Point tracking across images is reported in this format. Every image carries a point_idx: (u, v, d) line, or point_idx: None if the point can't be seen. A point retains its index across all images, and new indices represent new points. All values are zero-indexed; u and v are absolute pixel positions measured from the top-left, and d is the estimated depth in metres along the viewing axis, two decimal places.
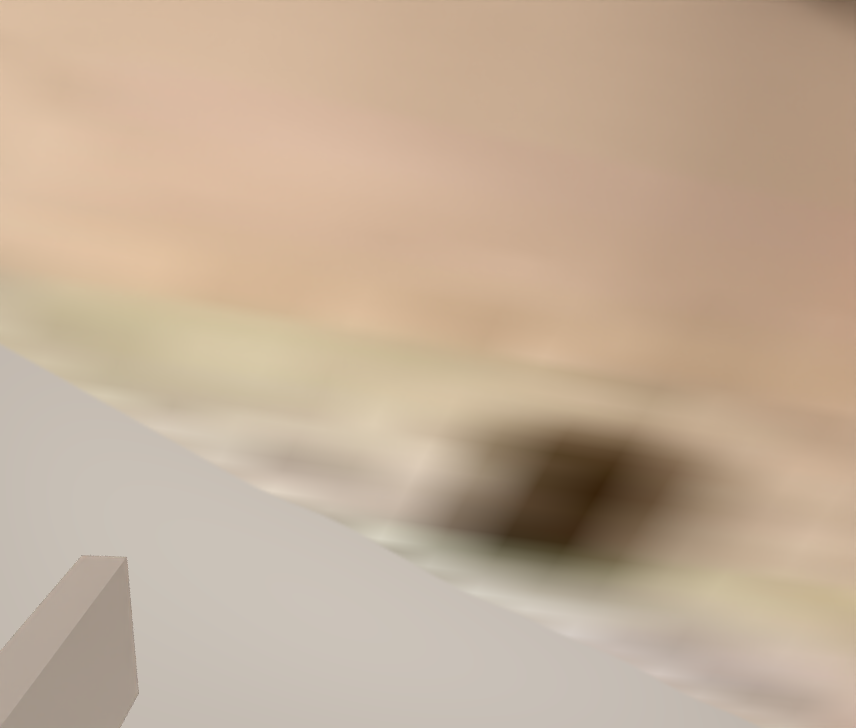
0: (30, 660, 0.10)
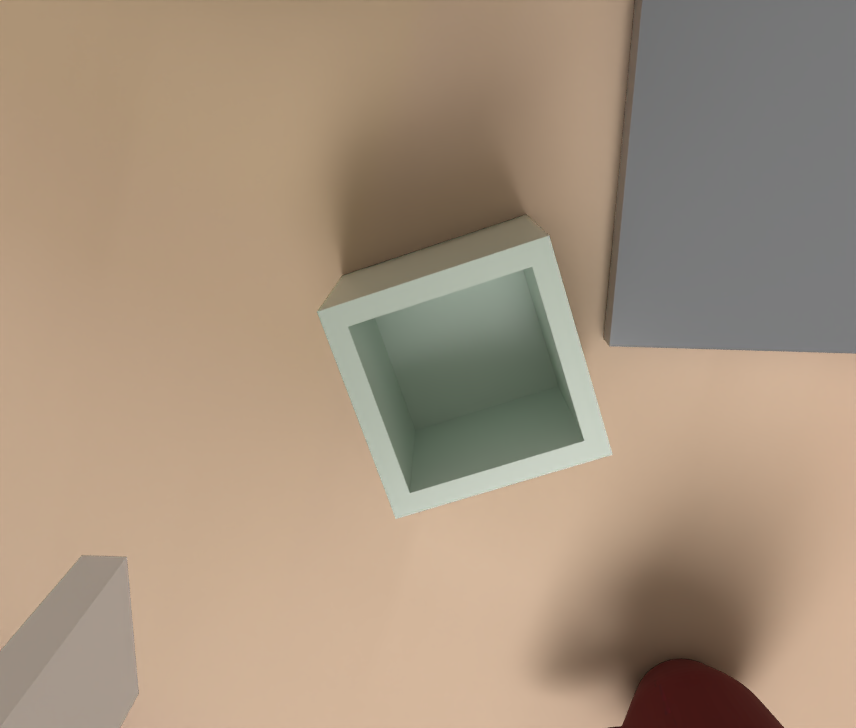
0: (30, 660, 0.10)
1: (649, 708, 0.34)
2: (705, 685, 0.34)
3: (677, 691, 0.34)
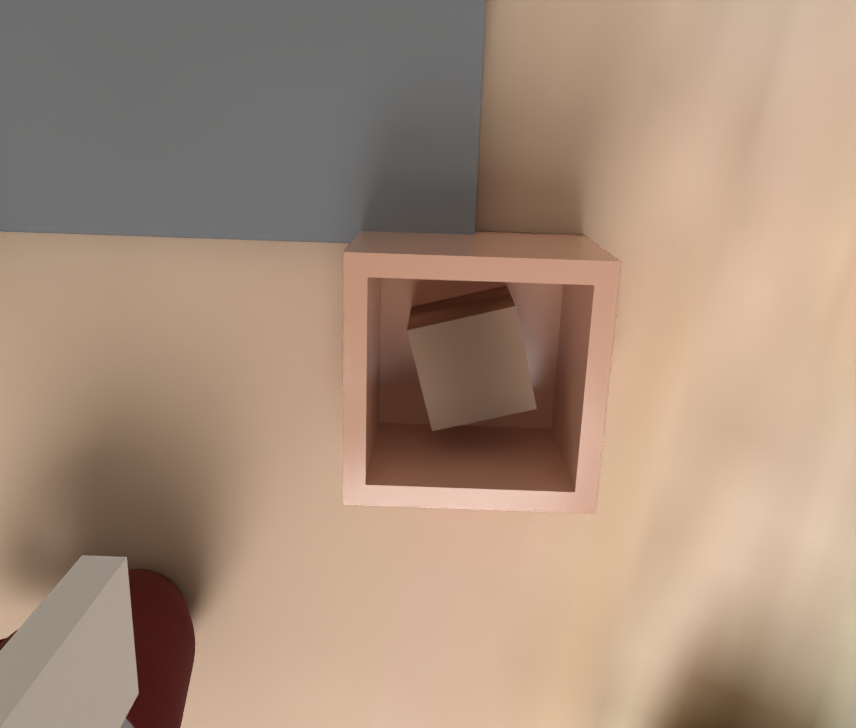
0: (30, 660, 0.10)
1: None
2: None
3: None
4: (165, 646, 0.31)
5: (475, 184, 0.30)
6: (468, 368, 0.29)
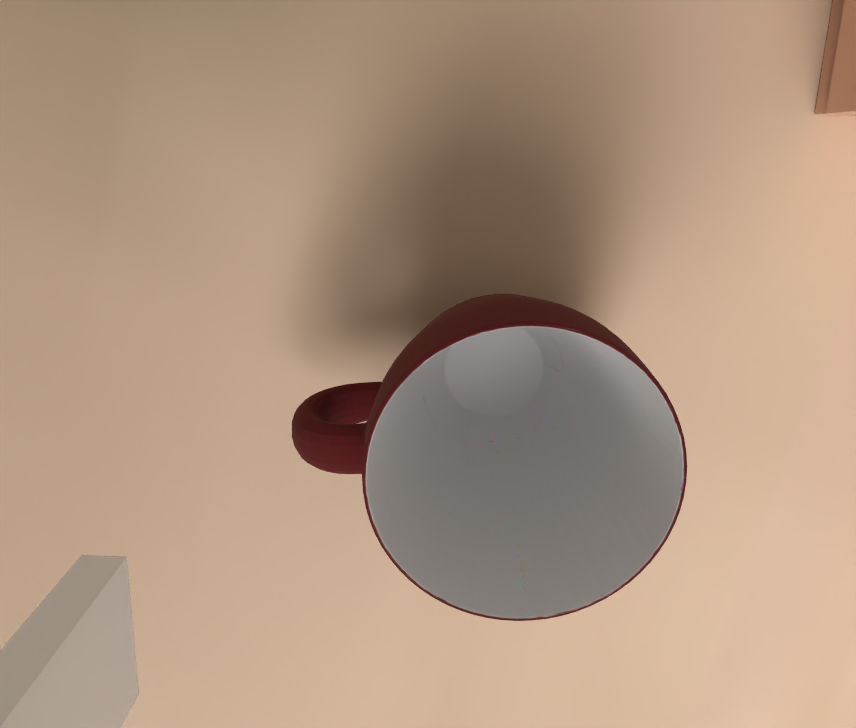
0: (30, 660, 0.10)
1: None
2: None
3: (461, 303, 0.24)
4: None
5: None
6: None
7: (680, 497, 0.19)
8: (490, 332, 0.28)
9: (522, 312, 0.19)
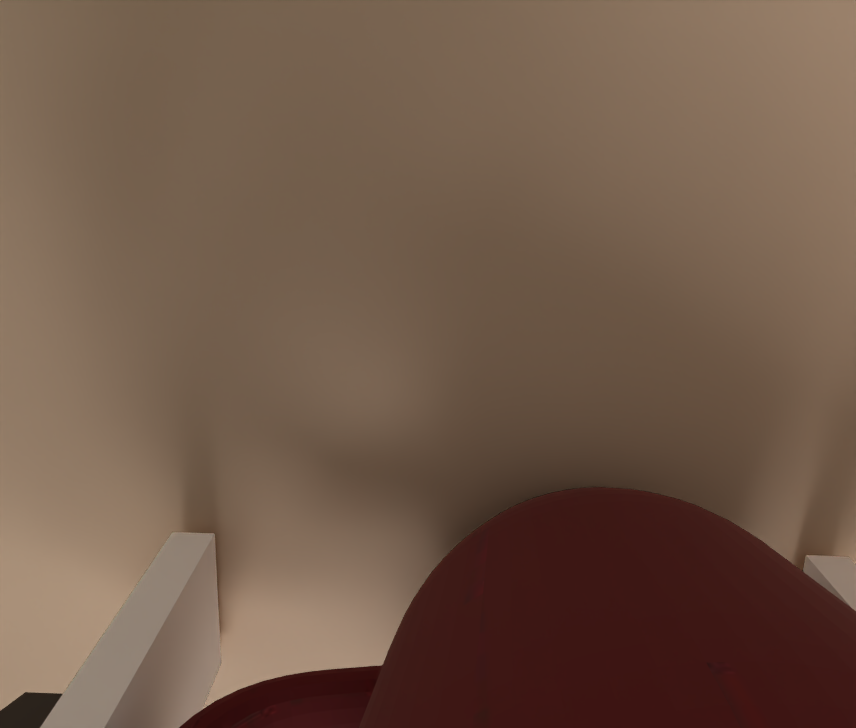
0: (145, 623, 0.11)
1: (434, 595, 0.10)
2: (621, 515, 0.10)
3: (526, 535, 0.10)
4: None
5: None
6: None
7: None
8: None
9: None
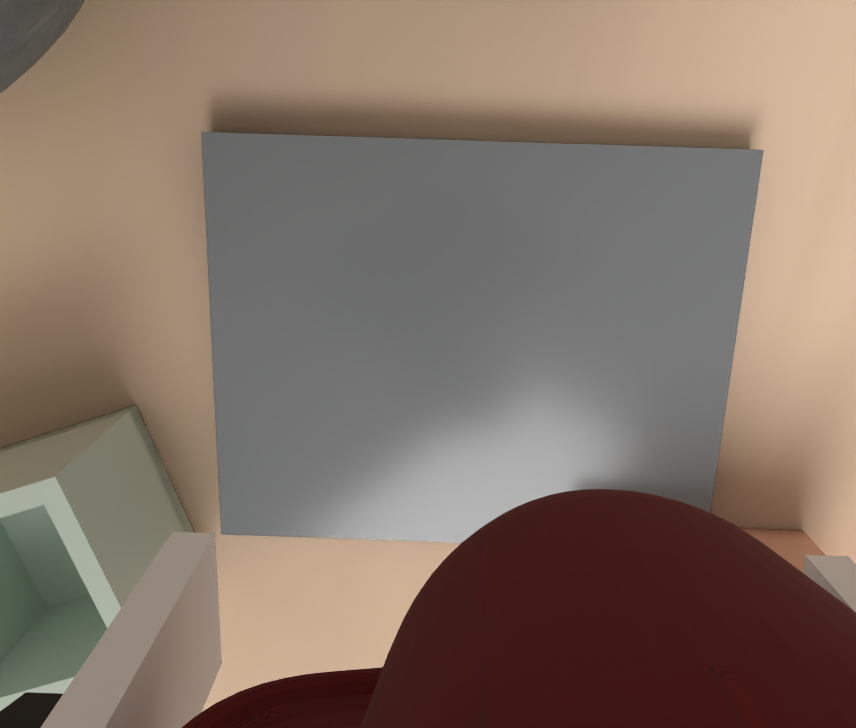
0: (146, 623, 0.11)
1: (435, 597, 0.10)
2: (622, 517, 0.10)
3: (527, 538, 0.10)
4: None
5: (710, 497, 0.32)
6: None
7: None
8: None
9: None
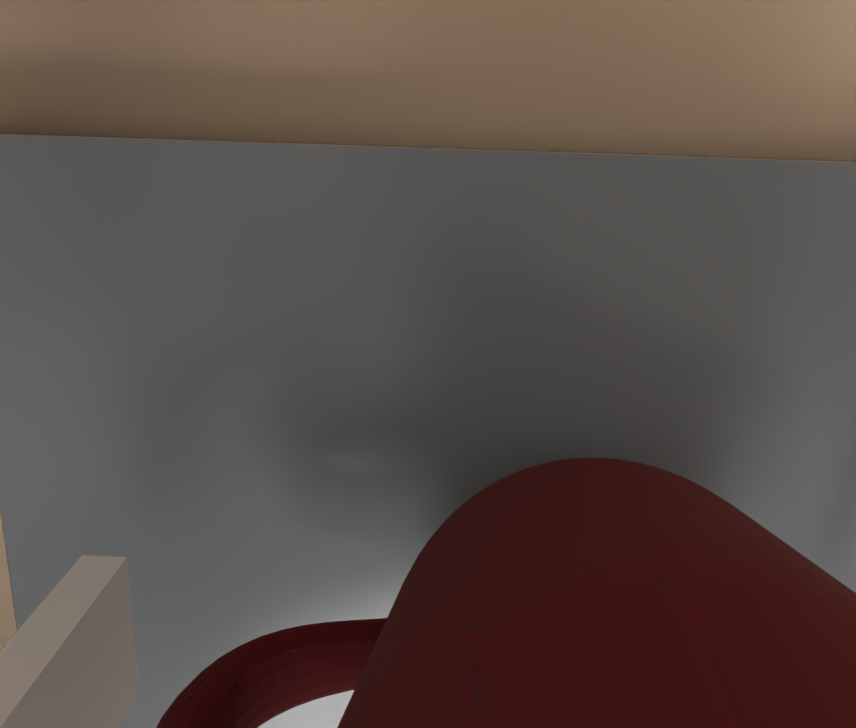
0: (30, 660, 0.10)
1: (436, 547, 0.11)
2: (602, 476, 0.11)
3: (518, 494, 0.11)
4: None
5: None
6: None
7: None
8: None
9: (751, 699, 0.06)
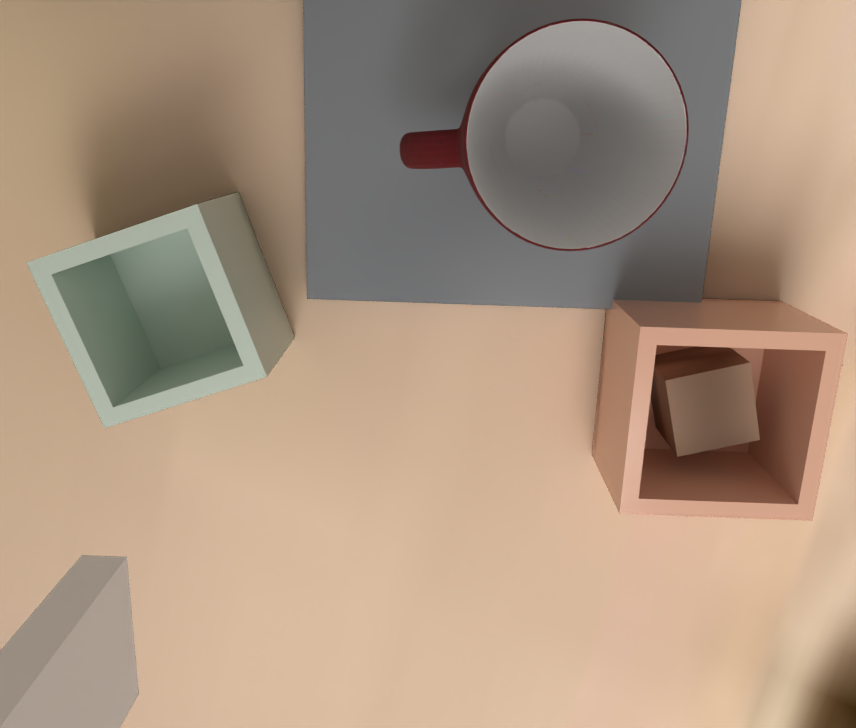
0: (30, 660, 0.10)
1: None
2: None
3: None
4: None
5: (705, 264, 0.39)
6: (709, 409, 0.37)
7: (684, 152, 0.28)
8: (540, 107, 0.37)
9: None
